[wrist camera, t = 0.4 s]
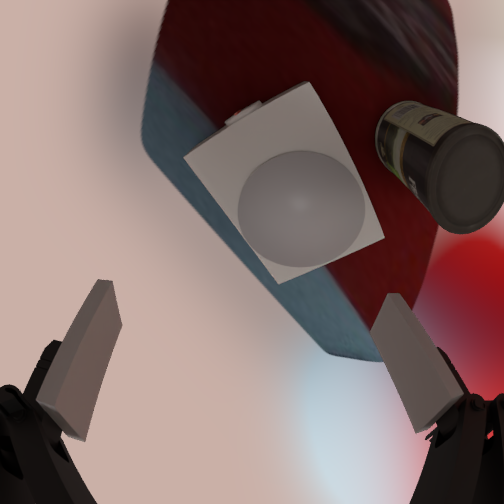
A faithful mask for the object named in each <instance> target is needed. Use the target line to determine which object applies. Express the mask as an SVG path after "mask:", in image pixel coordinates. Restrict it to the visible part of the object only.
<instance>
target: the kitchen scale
mask: <svg viewBox="0 0 504 504" xmlns="http://www.w3.org/2000/svg"><path fill="white" fill-rule="evenodd" d="M225 123H226V126H224V127H223V128H221V129H220V130H218V131H217V132H215V133H214V134H212V135H211V136H209V137H208V138H206V139H205V140H203V141H202V142H200V143H199V144H197V145H196V146H195V147H194V148H193V149H192V150H190V151H189V152H188V153H187V154H186V155H185V156H184V157H183V158H184V159H185V161H186V162H187V163H188V164H189V166H190V167H191V168H192V170H193V171H194V172H195V174H196V175H197V176H198V178H199V179H200V180H201V182H202V183H203V184H204V186H205V187H206V188H207V190H208V191H209V192H210V194H211V195H212V196H213V198H214V199H215V200H216V202H217V203H218V204H219V206H220V207H221V208H222V210H223V211H224V212H225V214H226V215H227V216H228V218H229V219H230V220H231V222H232V223H233V224H234V226H235V227H236V228H237V230H238V231H239V232H240V234H241V235H242V236H243V238H244V239H245V240H246V242H247V243H248V244H249V246H250V247H251V248H252V250H253V251H254V252H255V254H256V255H257V256H258V258H259V259H260V260H261V262H262V263H263V264H264V266H265V267H266V268H267V270H268V271H269V272H270V274H271V275H272V276H273V278H274V279H275V280H276V282H277V283H278V284H281V283H283V282H285V281H288V280H290V279H293V278H295V277H297V276H300V275H302V274H304V273H307V272H309V271H311V270H314V269H316V268H318V267H321V266H323V265H325V264H328V263H330V262H332V261H334V260H337V259H339V258H341V257H344V256H346V255H348V254H350V253H352V252H355V251H357V250H359V249H361V248H364V247H366V246H368V245H370V244H372V243H374V242H377V241H379V240H381V239H383V238H385V237H384V235H383V232H382V229H381V227H380V224H379V221H378V219H377V216H376V214H375V211H374V209H373V206H372V204H371V201H370V199H369V197H368V194H367V192H366V190H365V187H364V185H363V183H362V181H361V178H360V176H359V174H358V172H357V170H356V167H355V165H354V163H353V161H352V159H351V157H350V155H349V153H348V151H347V149H346V147H345V145H344V143H343V141H342V139H341V137H340V135H339V133H338V131H337V129H336V127H335V125H334V124H333V122H332V120H331V118H330V116H329V114H328V113H327V111H326V109H325V107H324V106H323V104H322V102H321V100H320V99H319V97H318V95H317V94H316V92H315V90H314V89H313V87H312V85H311V84H310V82H306V81H304V82H302V83H300V84H298V85H296V86H294V87H292V88H290V89H288V90H286V91H284V92H283V93H281V94H279V95H277V96H275V97H273V98H271V99H270V100H268V101H266V102H264V103H263V104H262V103H261V101H260V100H259V101H257V102H255V103H253V104H251V105H249V106H248V107H246V108H244V109H243V110H238V111H237V112H236V113H235V114H234V115H233V116H232V117H230V118H229V119H227V120H226V121H225Z"/></svg>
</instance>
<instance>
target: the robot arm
mask: <svg viewBox="0 0 504 504" xmlns="http://www.w3.org/2000/svg"><path fill="white" fill-rule="evenodd" d="M121 328H122V322H121V318H120V314H119V310H118V305H117V301H116V296H115V291H114V286H113V281H109V280H99V279H98V280H97V282H96V283H95V285H94V286H93V289H92V290H91V291H90V293H89V295H88V296H87V298H86V300H85V301H84V303H83V305H82V307H81V309H80V310H79V312H78V314H77V315H76V317H75V319H74V321H73V323H72V325H71V326H70V328H69V330H68V332H67V334H66V336H65V338H64V340H63V342H61V341H57V340H53V341H52V342H51V343H50V344H49V345H48V346H47V347H46V348H45V349H44V351H43V353H42V355H41V357H40V360H39V361H38V363H37V365H36V368H35V369H34V371H33V373H32V375H31V377H30V379H29V381H28V384H27V386H26V388H25V391H24V393H23V394H22V393H21V391H19V389H18V388H17V387H15V386H13V385H10V384H9V385H4V386H2V387H0V504H97V503H96V501H95V500H94V498H93V496H92V495H91V493H90V492H89V490H88V489H87V487H86V485H85V483H84V481H83V480H82V478H81V476H80V474H79V472H78V471H77V469H76V467H75V465H74V463H73V461H72V459H71V457H70V455H69V453H68V451H67V448H66V446H65V444H64V442H63V440H62V439H61V433H62V431H63V432H64V433H65V434H66V435H67V436H68V437H71V438H74V439H77V440H80V441H84V442H85V441H86V437H87V433H88V429H89V425H90V421H91V418H92V414H93V411H94V407H95V404H96V400H97V397H98V394H99V391H100V388H101V384H102V381H103V378H104V375H105V372H106V369H107V366H108V363H109V360H110V358H111V355H112V352H113V349H114V346H115V343H116V341H117V338H118V335H119V332H120V330H121ZM370 335H371V337H372V339H373V341H374V343H375V345H376V347H377V349H378V351H379V353H380V355H381V357H382V359H383V361H384V363H385V365H386V367H387V369H388V372H389V374H390V376H391V378H392V380H393V382H394V384H395V387H396V389H397V391H398V393H399V395H400V398H401V400H402V402H403V404H404V407H405V409H406V411H407V414H408V416H409V418H410V421H411V423H412V425H413V428H414V430H415V433H419V432H422V431H424V430H427V429H429V428H430V427H431V426H432V425H433V424H434V423H435V422H436V424H437V427H436V428H435V429H434V430H433V431H432V432H431V433H430V434H428V435H427V436H426V438H425V440H427V439H429V438H430V437H431V436H432V435H433V437H432V438H431V439H430V440H429V441H430V442H431V444H430V448H429V451H428V454H427V457H426V461H425V464H424V467H423V470H422V473H421V476H420V478H419V481H418V484H417V486H416V489H415V491H414V494H413V496H412V499H411V501H410V504H504V394H503V393H502V394H499V395H498V396H497V397H496V398H495V399H494V400H492V401H484V399H483V398H482V397H481V396H480V395H478V394H474V393H473V394H470V392H469V391H468V389H467V387H466V386H465V384H464V382H463V380H462V379H461V377H460V375H459V374H458V372H457V370H455V367H454V366H453V364H451V361H450V359H449V357H448V356H447V354H446V353H445V352H444V351H443V350H441V349H440V348H439V347H435V345H434V343H433V342H432V340H431V338H430V337H429V335H428V334H427V333H426V331H425V329H424V328H423V326H422V325H421V324H420V322H419V321H418V319H417V318H416V316H415V315H414V313H413V312H412V310H411V309H410V308H409V306H408V305H407V303H406V302H405V301H404V299H403V298H402V296H401V295H400V294H399V293H388V294H387V296H386V298H385V301H384V303H383V305H382V308H381V310H380V312H379V314H378V316H377V319H376V321H375V323H374V325H373V327H372V329H371V331H370ZM492 430H493V436H492V437H491V438H490V439H488V438H487V435H488V434H489V433H490V432H491V431H492Z"/></svg>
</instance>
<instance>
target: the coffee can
mask: <svg viewBox="0 0 504 504" xmlns="http://www.w3.org/2000/svg"><path fill="white" fill-rule="evenodd" d="M375 145H376V150H377V153H378V156H379V158H380V159H381V161H382V163H383V164H384V165H385V166H386V167H387V168H388V169H389V170H390V171H391V172H392V173H394V174H395V175H396V176H397V177H398V178H399V179H400V180H401V181H402V182H403V183H404V184H405V185H406V186H407V187H408V189H409V190H410V191H411V192H412V193H413V194H414V195H415V196H416V197H417V198H418V199H419V200H420V201H421V202H422V204H423V205H424V206H425V207H426V208H427V209H428V210H429V211H430V213H431V215H432V216H433V218H434V219H435V220H436V222H437V223H438V224H439V225H440V226H441V227H442V228H443V229H445V230H447V231H448V232H451V233H455V234H468V233H471V232H474V231H476V230H478V229H480V228H482V227H484V226H485V225H486V224H487V223H489V222H490V221H491V220H492V219H493V218H494V216H495V215H496V214H497V213H498V211H499V210H500V208H501V206H502V204H503V202H504V142H503V141H502V139H501V138H500V136H499V135H498V134H497V133H496V132H494V131H493V130H492V129H490V128H489V127H487V126H484V125H481V124H477V123H473V122H471V121H468V120H466V119H463V118H461V117H458V116H455V115H453V114H450V113H447V112H444V111H441V110H438V109H435V108H432V107H429V106H426V105H423V104H421V103H418V102H415V101H403V102H399V103H397V104H395V105H393V106H391V107H390V108H388V109H387V110H386V111H385V112H384V114H383V115H382V116H381V118H380V120H379V122H378V125H377V128H376V133H375Z"/></svg>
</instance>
